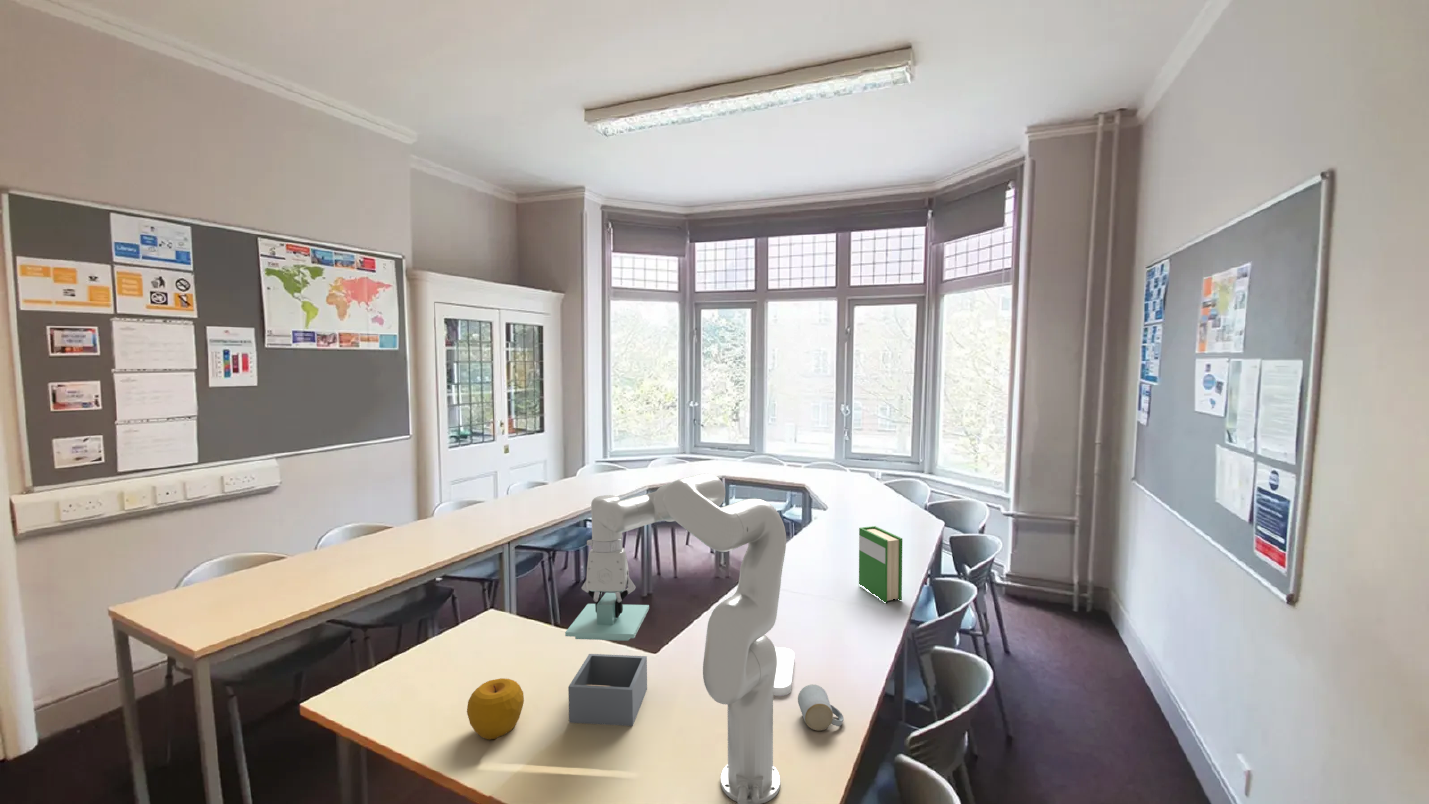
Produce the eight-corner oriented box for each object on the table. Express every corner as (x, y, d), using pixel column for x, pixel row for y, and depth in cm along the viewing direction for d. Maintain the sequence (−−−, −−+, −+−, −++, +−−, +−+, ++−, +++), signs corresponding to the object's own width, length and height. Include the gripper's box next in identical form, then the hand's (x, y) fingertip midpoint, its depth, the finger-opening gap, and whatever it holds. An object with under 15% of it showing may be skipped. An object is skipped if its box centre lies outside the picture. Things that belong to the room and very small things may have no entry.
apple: (457, 735, 133) (455, 689, 133) (503, 708, 144) (502, 665, 143) (489, 755, 126) (488, 707, 125) (536, 725, 137) (535, 680, 136)
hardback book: (901, 601, 209) (902, 538, 208) (884, 603, 207) (885, 540, 206) (874, 584, 226) (875, 526, 225) (858, 586, 224) (859, 527, 223)
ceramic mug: (804, 734, 133) (805, 703, 132) (797, 713, 141) (797, 683, 141) (848, 732, 134) (848, 701, 133) (838, 711, 142) (838, 682, 141)
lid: (634, 644, 133) (633, 613, 133) (565, 642, 135) (564, 612, 134) (649, 614, 150) (648, 586, 149) (588, 612, 151) (587, 585, 151)
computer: (790, 698, 148) (790, 688, 148) (709, 689, 152) (709, 680, 152) (795, 657, 169) (795, 648, 169) (724, 650, 174) (724, 642, 174)
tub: (633, 729, 135) (632, 689, 134) (569, 726, 136) (568, 686, 136) (647, 692, 151) (646, 656, 150) (590, 689, 152) (589, 653, 152)
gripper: (570, 549, 138) (572, 621, 139) (636, 549, 137) (637, 622, 138) (580, 540, 146) (582, 608, 147) (643, 540, 144) (644, 610, 145)
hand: (609, 614), depth 142 cm, fingers closed on lid, 4 cm apart
